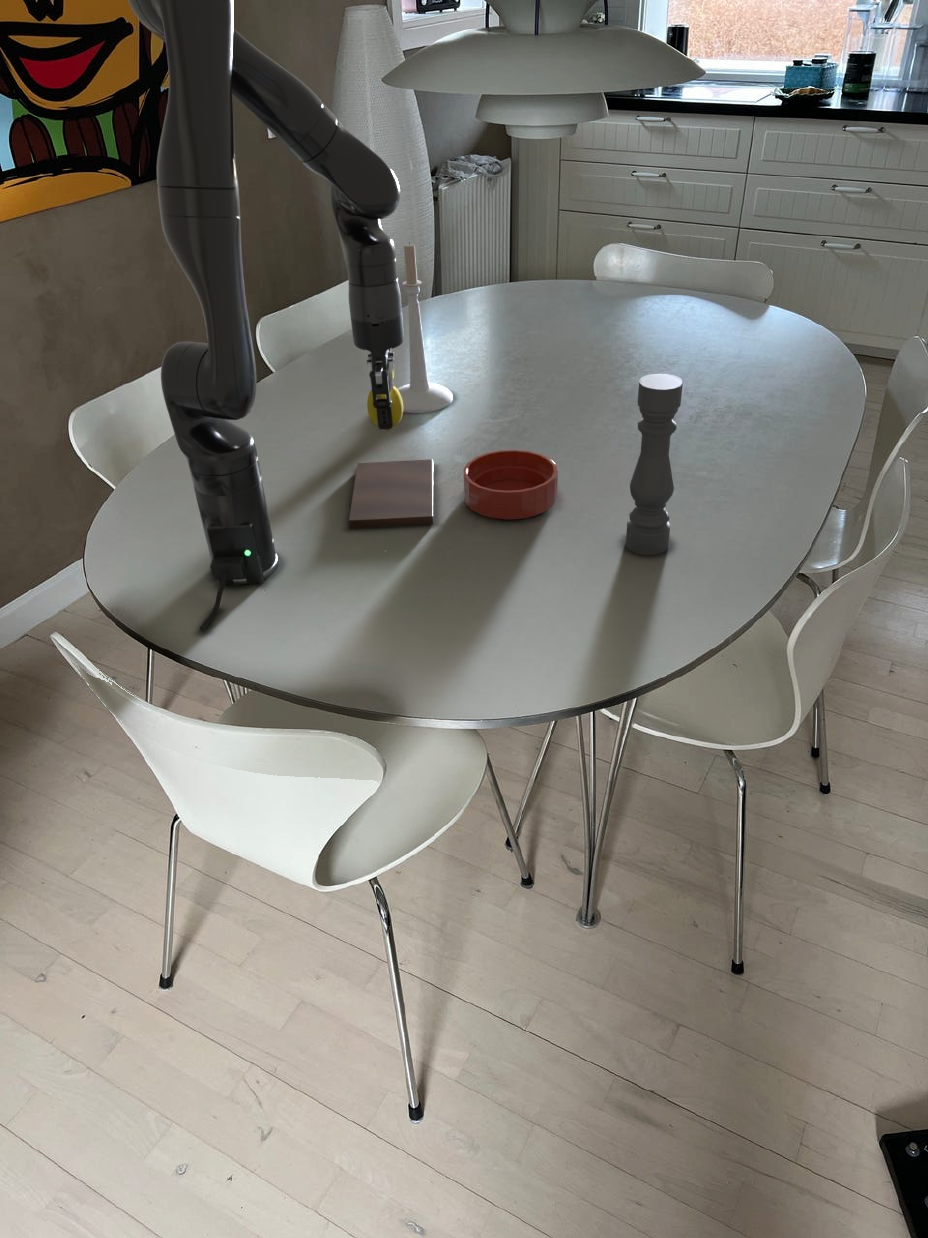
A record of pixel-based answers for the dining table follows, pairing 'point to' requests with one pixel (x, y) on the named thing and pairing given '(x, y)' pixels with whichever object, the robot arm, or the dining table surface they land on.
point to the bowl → (510, 484)
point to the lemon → (395, 407)
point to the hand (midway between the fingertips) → (386, 419)
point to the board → (392, 494)
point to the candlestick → (418, 352)
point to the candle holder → (653, 464)
